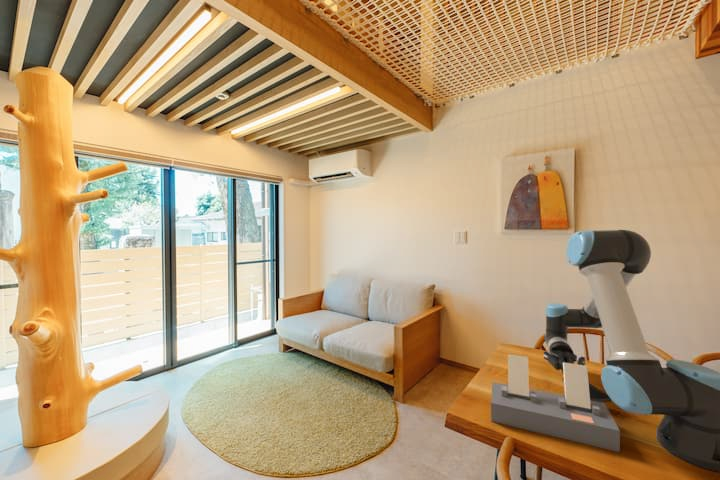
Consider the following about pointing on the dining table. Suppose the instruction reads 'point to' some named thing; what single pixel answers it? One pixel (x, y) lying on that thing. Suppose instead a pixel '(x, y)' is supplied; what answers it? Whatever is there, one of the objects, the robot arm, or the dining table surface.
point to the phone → (597, 394)
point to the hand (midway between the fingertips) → (573, 378)
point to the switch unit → (555, 417)
